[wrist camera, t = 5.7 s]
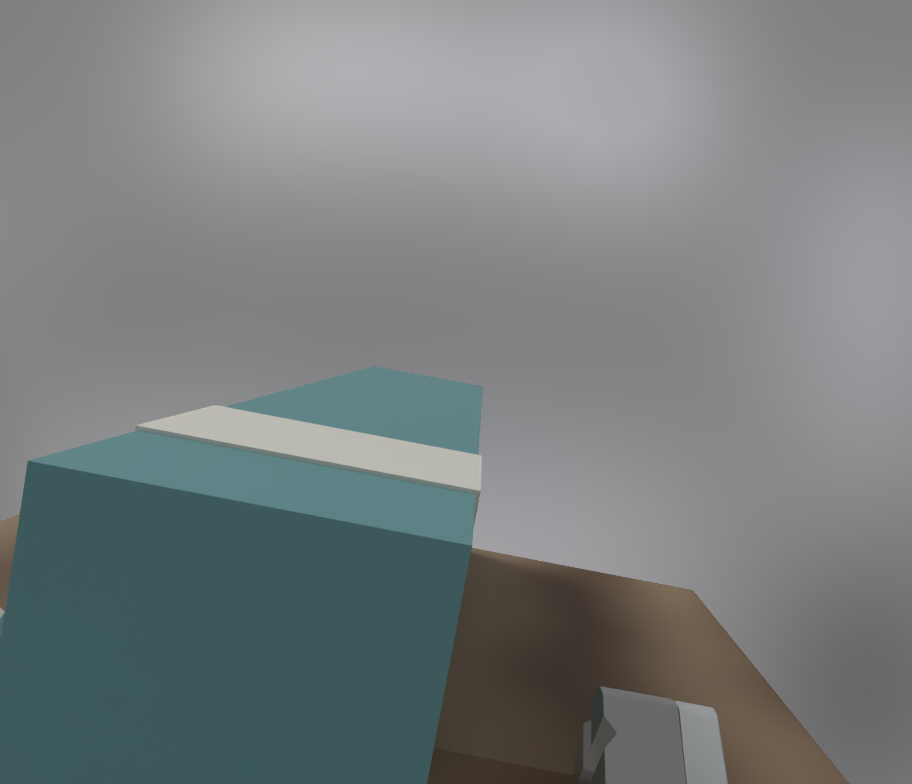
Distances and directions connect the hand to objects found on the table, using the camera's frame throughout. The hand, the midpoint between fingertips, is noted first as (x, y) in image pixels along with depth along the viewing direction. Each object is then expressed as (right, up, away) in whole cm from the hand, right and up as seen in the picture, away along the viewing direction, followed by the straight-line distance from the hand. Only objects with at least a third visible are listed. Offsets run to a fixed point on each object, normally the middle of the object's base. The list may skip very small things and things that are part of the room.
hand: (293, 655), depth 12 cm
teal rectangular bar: (0, -3, +8) cm, 9 cm away
